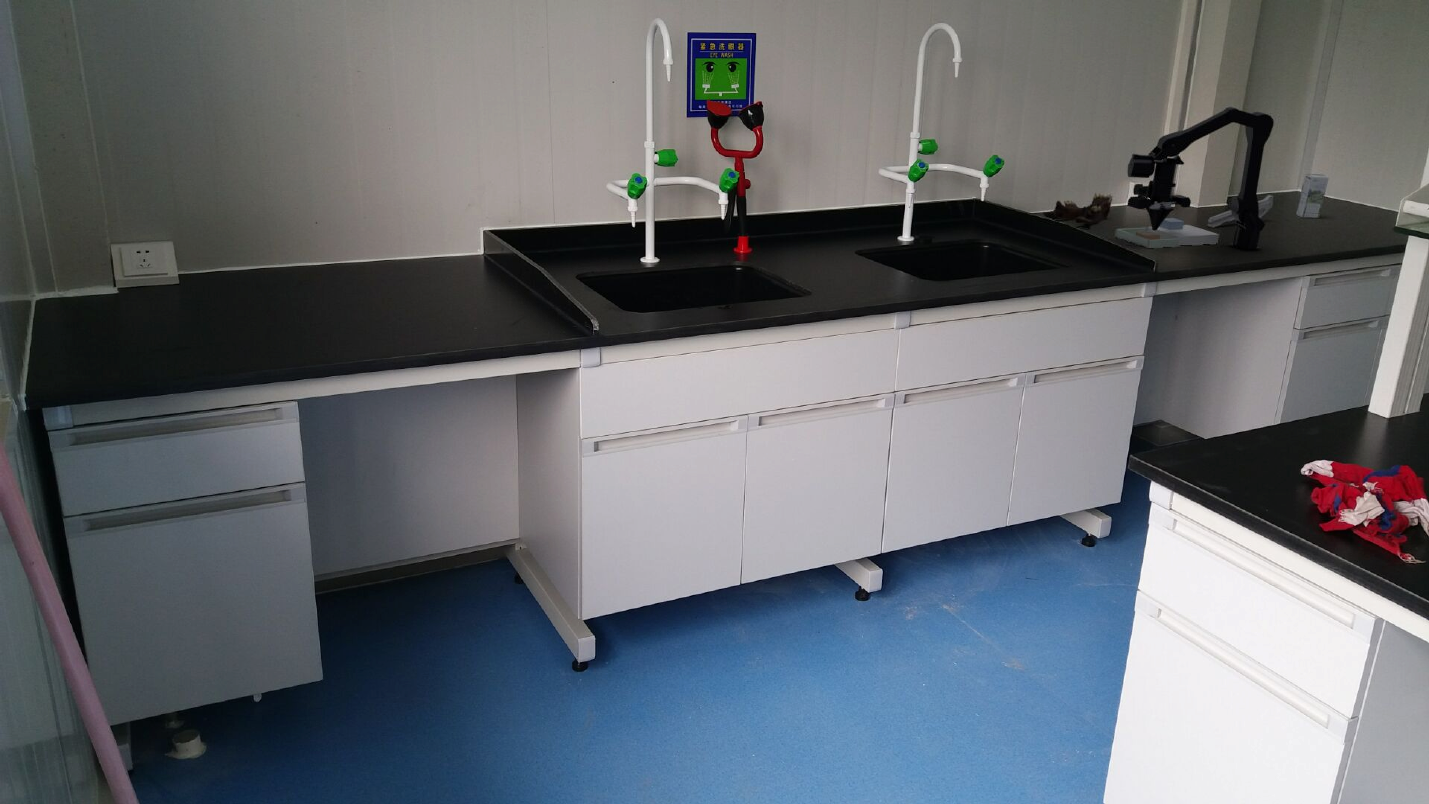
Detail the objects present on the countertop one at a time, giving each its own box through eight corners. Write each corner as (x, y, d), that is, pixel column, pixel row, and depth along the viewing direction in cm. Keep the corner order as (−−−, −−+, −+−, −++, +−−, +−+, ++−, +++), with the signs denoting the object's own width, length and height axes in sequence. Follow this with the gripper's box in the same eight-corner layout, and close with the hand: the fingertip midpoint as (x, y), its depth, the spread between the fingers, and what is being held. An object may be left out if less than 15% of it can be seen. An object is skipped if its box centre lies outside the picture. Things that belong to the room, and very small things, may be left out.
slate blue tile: (1182, 229, 338) (1184, 221, 337) (1169, 230, 336) (1170, 222, 335) (1171, 225, 342) (1173, 218, 341) (1158, 226, 341) (1159, 218, 340)
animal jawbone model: (1132, 232, 359) (1140, 204, 353) (1075, 243, 349) (1083, 215, 343) (1094, 212, 371) (1102, 184, 366) (1039, 222, 362) (1046, 194, 356)
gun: (1271, 217, 368) (1273, 195, 364) (1210, 240, 356) (1212, 217, 353) (1266, 216, 369) (1268, 194, 366) (1205, 239, 358) (1207, 216, 355)
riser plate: (1217, 244, 333) (1219, 234, 332) (1176, 246, 329) (1178, 236, 328) (1186, 234, 345) (1187, 224, 344) (1146, 236, 341) (1148, 226, 340)
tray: (1177, 247, 328) (1179, 238, 327) (1147, 248, 325) (1149, 240, 324) (1143, 235, 342) (1145, 227, 341) (1114, 236, 339) (1115, 229, 338)
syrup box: (1312, 215, 379) (1322, 173, 374) (1319, 218, 374) (1329, 176, 368) (1295, 214, 380) (1304, 172, 374) (1302, 218, 374) (1311, 175, 369)
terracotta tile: (1146, 235, 328) (1144, 243, 329) (1160, 234, 329) (1159, 242, 330) (1136, 231, 332) (1134, 239, 333) (1150, 231, 333) (1148, 239, 334)
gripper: (1171, 173, 334) (1162, 223, 340) (1120, 174, 329) (1111, 225, 335) (1196, 179, 325) (1186, 231, 330) (1143, 181, 319) (1134, 233, 325)
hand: (1154, 230), depth 330 cm, fingers closed
